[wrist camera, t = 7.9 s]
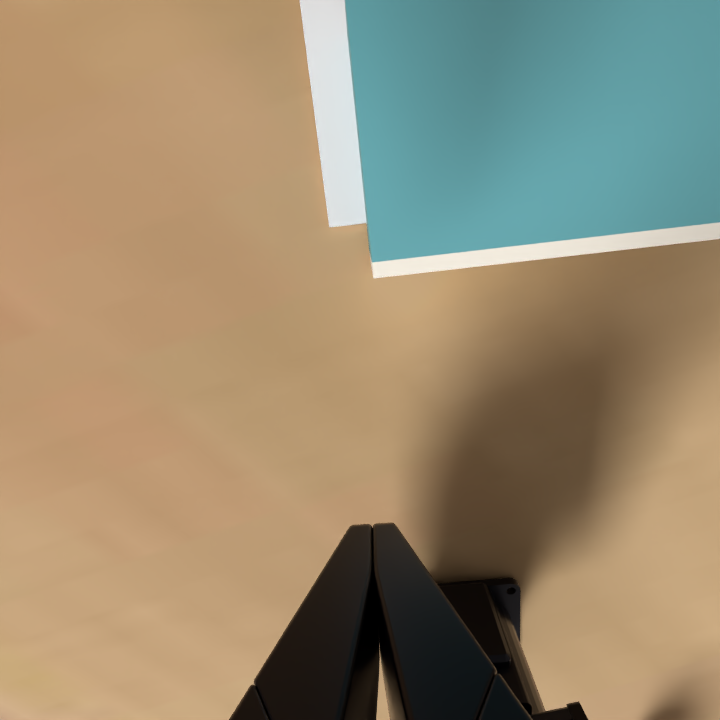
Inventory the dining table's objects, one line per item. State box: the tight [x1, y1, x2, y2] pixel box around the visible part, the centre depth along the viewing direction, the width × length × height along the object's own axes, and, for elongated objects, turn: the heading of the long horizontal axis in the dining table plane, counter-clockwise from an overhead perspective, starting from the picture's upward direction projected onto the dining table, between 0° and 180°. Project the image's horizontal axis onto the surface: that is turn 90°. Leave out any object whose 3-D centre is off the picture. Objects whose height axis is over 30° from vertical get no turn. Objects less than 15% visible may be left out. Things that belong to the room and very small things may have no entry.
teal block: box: [345, 0, 720, 278], centre depth 14 cm, size 4×12×8 cm
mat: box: [300, 0, 367, 227], centre depth 15 cm, size 10×15×1 cm, turn 97°
